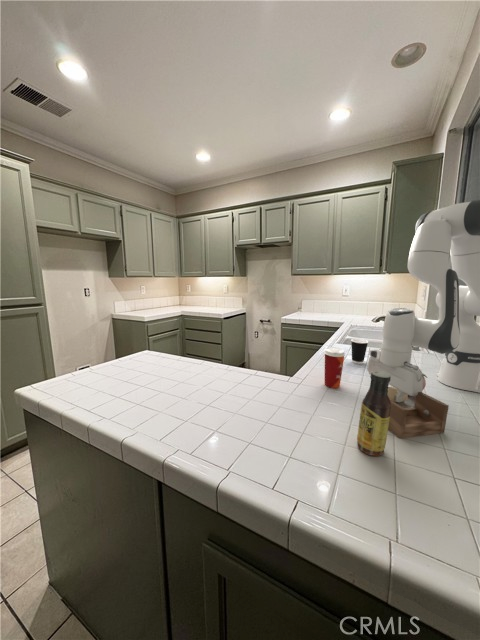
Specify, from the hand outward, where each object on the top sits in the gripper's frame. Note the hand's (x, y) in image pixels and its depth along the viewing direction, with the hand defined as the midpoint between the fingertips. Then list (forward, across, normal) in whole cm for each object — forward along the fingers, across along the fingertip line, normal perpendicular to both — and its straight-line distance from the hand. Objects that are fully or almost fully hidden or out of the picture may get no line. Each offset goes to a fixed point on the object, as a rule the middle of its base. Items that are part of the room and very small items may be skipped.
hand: (390, 396), depth 90 cm
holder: (+2, -14, +6) cm, 15 cm away
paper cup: (+2, +16, +12) cm, 20 cm away
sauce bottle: (+2, -21, +24) cm, 32 cm away
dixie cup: (+2, +39, -16) cm, 42 cm away
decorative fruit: (+2, +3, -11) cm, 11 cm away
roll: (+2, 0, 0) cm, 2 cm away
